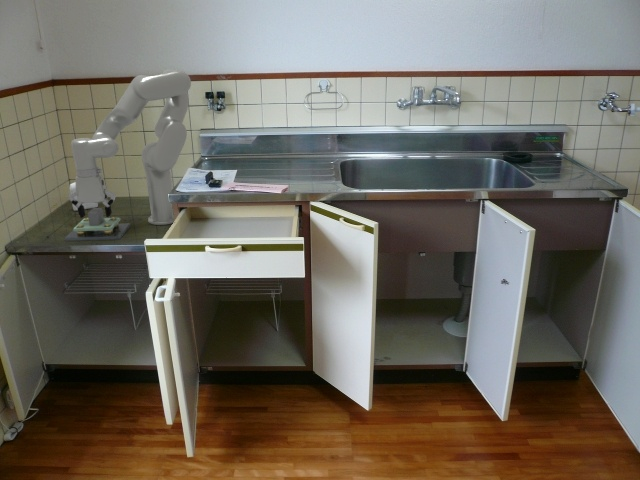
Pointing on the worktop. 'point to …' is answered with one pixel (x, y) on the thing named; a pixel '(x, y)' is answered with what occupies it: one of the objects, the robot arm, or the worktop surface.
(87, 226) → the board
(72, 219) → the worktop surface
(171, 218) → the robot arm
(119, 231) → the plate
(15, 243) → the worktop surface
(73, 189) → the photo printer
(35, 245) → the worktop surface
